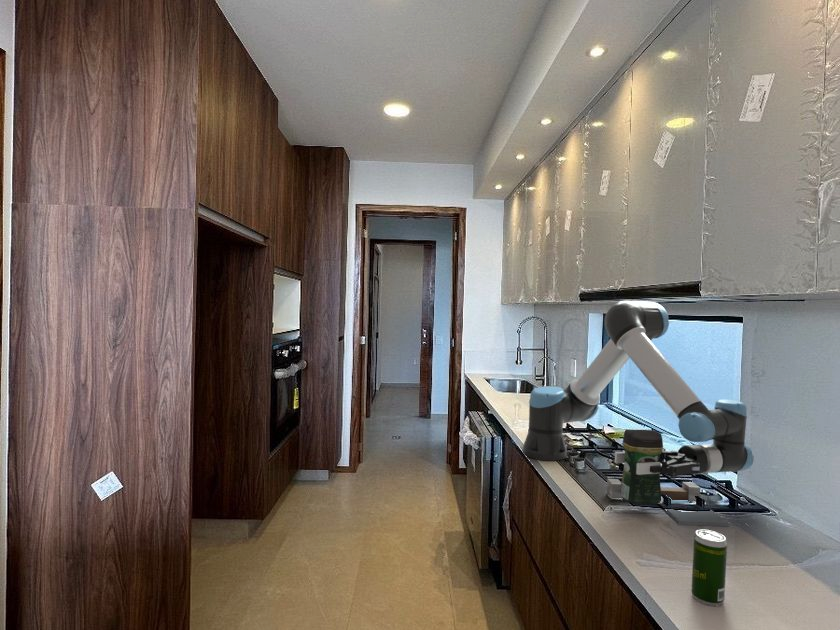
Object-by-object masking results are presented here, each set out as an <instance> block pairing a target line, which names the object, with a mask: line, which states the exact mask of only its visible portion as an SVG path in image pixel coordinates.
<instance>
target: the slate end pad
mask: <svg viewBox="0 0 840 630" xmlns="http://www.w3.org/2000/svg"><path fill="white" fill-rule="evenodd" d="M689 503H692V502H689ZM667 512H668V513H667ZM667 512H666V513H667V514H668V515H669V516H670V517H671V518H672V519H673V520H674V521H675V522H676V523H677V524H679V525H687V526H688V525H689V526H690V525H691V526H709V527H710V526H712V527H729V525H730V523H729V522H728V521H727V520H725V519H724V518H723V517H721V515H719V514H718V513H716V512H715V511H714V510H712V509H711V510H710V511H698V512H681V511H678V510H673V509H667Z"/></svg>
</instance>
